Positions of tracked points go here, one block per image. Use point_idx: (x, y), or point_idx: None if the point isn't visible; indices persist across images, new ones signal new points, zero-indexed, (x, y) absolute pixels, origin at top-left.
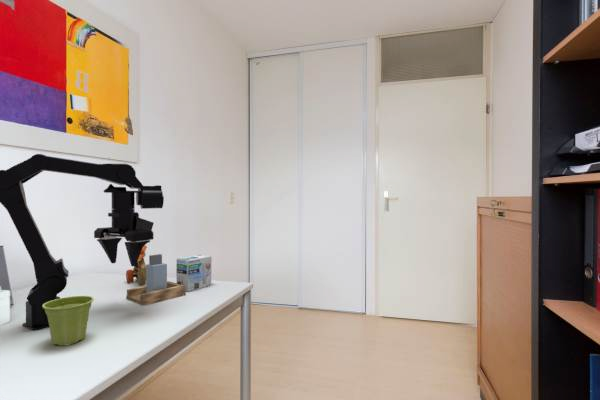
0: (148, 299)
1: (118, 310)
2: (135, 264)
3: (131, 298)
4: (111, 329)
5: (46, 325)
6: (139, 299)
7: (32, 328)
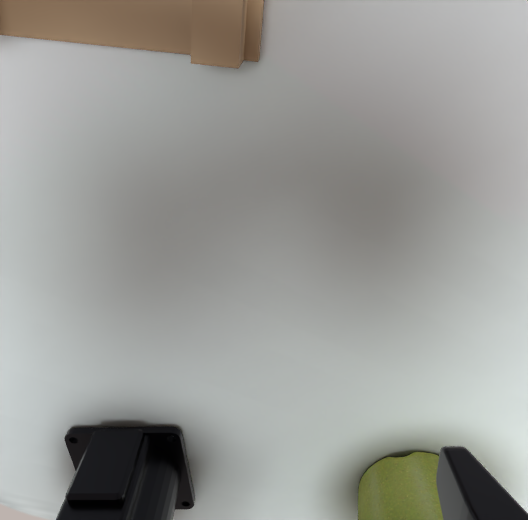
0: (247, 4)
1: (211, 214)
2: (474, 469)
3: (45, 38)
4: (465, 374)
5: (189, 481)
6: (151, 31)
7: (178, 506)
